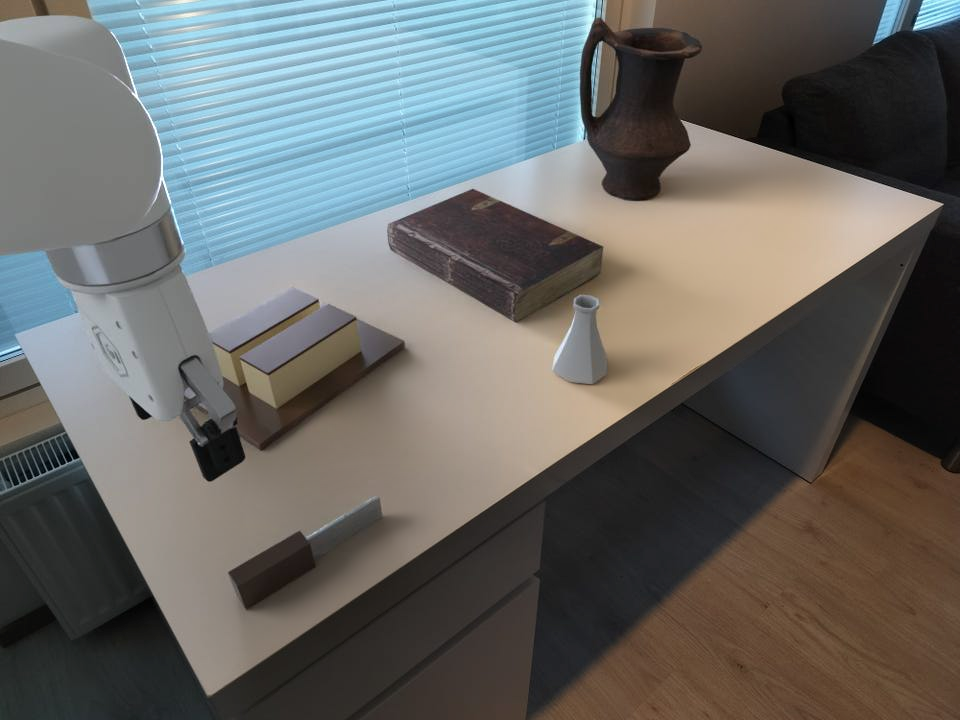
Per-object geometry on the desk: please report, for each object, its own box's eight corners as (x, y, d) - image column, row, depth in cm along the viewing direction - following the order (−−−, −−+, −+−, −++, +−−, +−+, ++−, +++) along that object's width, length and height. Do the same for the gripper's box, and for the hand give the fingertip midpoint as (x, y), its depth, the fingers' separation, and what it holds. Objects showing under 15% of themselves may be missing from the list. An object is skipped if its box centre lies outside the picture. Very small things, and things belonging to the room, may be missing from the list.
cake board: (260, 450, 76) (258, 444, 75) (166, 388, 85) (164, 382, 84) (405, 346, 91) (404, 340, 90) (312, 303, 100) (311, 297, 99)
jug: (665, 167, 139) (692, 3, 120) (694, 207, 124) (730, 27, 106) (562, 171, 137) (573, 6, 119) (579, 211, 123) (595, 31, 104)
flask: (542, 375, 86) (546, 309, 80) (564, 344, 91) (569, 280, 85) (596, 392, 84) (605, 325, 77) (616, 360, 89) (625, 294, 82)
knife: (246, 610, 60) (237, 587, 58) (236, 595, 62) (227, 572, 60) (387, 522, 68) (384, 499, 66) (376, 510, 69) (372, 487, 67)
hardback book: (389, 250, 112) (386, 222, 109) (473, 214, 122) (472, 188, 119) (514, 323, 95) (515, 292, 92) (600, 275, 105) (603, 246, 102)
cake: (276, 409, 80) (267, 373, 77) (213, 371, 86) (202, 336, 82) (361, 351, 89) (356, 316, 85) (299, 320, 94) (292, 286, 91)
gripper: (-3, 220, 44) (92, 413, 55) (122, 321, 35) (207, 528, 46) (110, 183, 49) (177, 368, 60) (247, 265, 40) (298, 466, 50)
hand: (190, 438), depth 53 cm, fingers open, 9 cm apart
